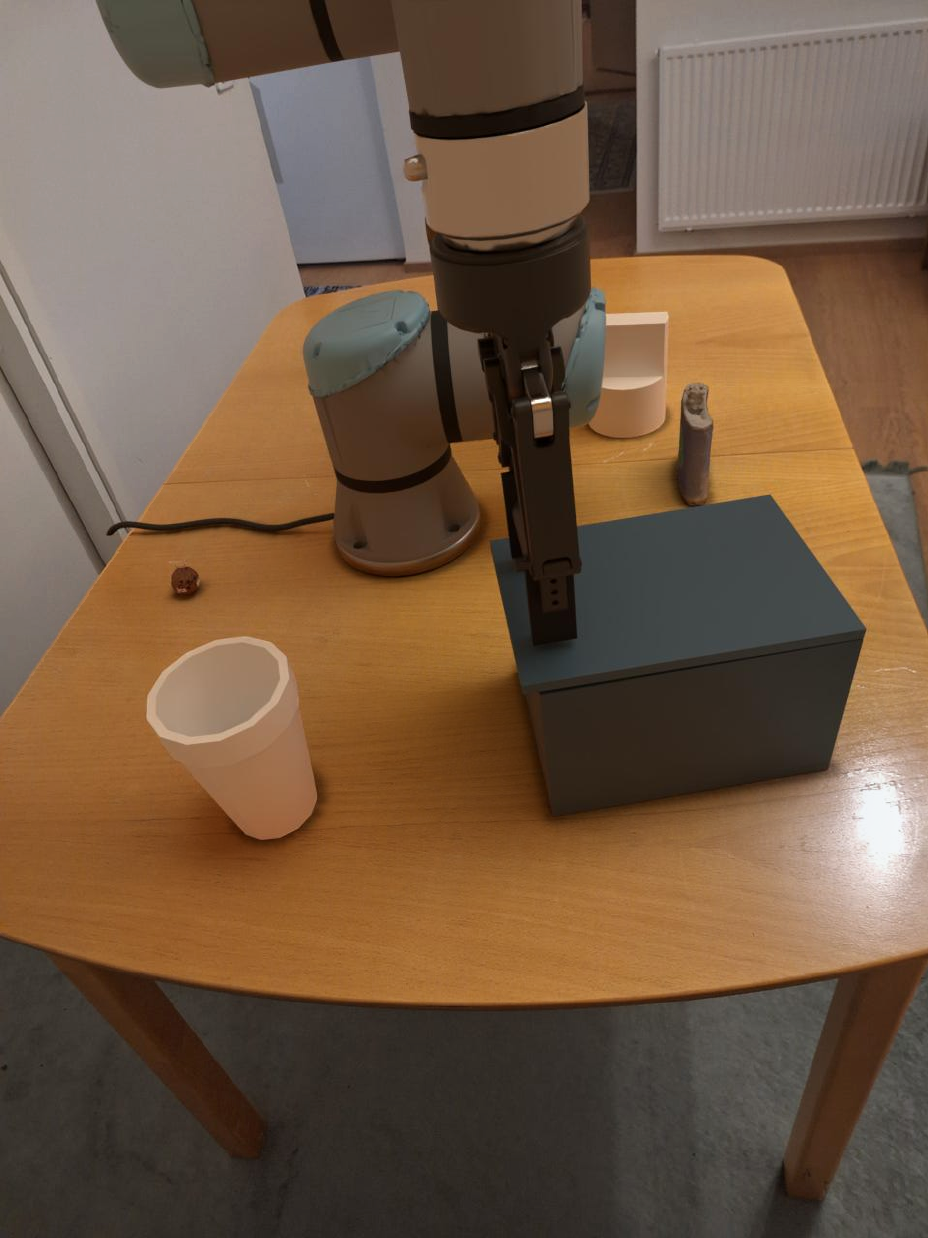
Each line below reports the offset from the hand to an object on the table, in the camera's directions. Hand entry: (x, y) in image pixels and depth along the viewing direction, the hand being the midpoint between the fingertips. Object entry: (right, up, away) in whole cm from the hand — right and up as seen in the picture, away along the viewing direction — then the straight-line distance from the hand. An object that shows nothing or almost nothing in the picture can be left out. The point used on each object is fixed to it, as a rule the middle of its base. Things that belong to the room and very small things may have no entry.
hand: (541, 592), depth 52 cm
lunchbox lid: (+8, 0, +1) cm, 8 cm away
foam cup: (-19, -16, +9) cm, 26 cm away
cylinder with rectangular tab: (+14, +22, +43) cm, 50 cm away
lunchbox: (+10, -9, +10) cm, 17 cm away
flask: (+19, +13, +32) cm, 39 cm away
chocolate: (-33, +1, +30) cm, 44 cm away
